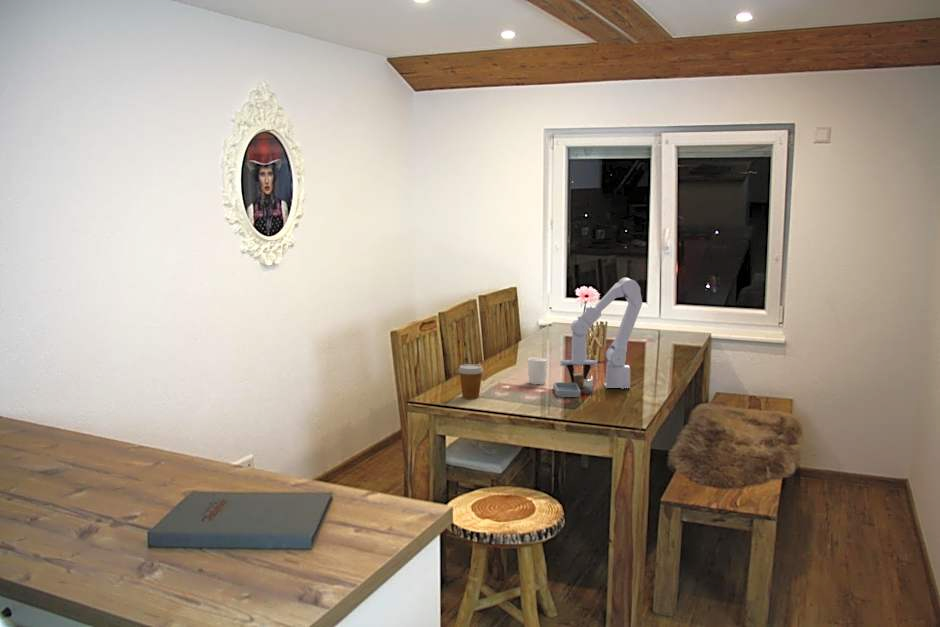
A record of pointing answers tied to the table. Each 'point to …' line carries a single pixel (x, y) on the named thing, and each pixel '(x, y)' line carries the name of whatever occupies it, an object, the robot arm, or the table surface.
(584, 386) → the metal cylinder
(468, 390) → the disposable coffee cup
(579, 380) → the walnut block
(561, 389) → the parts tray
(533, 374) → the white cup
